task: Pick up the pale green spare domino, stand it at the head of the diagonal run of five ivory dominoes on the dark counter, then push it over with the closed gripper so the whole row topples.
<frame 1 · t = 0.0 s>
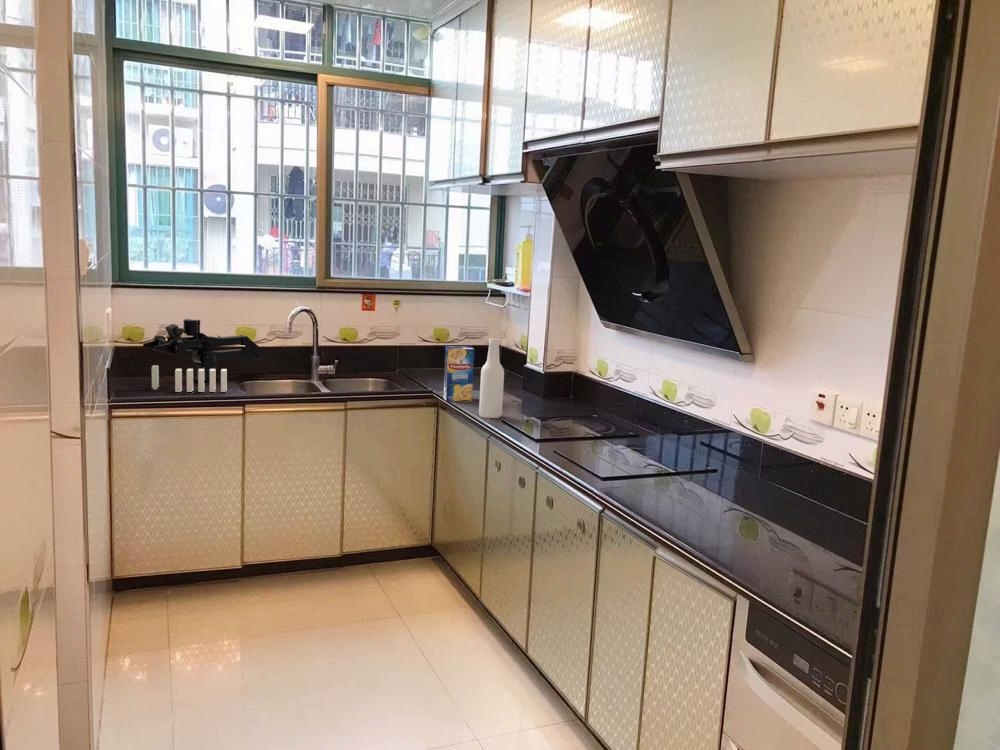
hand: (148, 346, 330), 17 cm above the worktop, tool horizontal, fingers open, 9 cm apart
domino 4: (212, 391, 329), on the worktop
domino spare: (155, 388, 330), on the worktop
domino 1: (178, 391, 326), on the worktop
alcohol: (490, 416, 312), on the worktop
domino 2: (190, 391, 327), on the worktop
blue food box: (457, 399, 341), on the worktop
domino 3: (201, 391, 328), on the worktop
domino 5: (223, 391, 331), on the worktop
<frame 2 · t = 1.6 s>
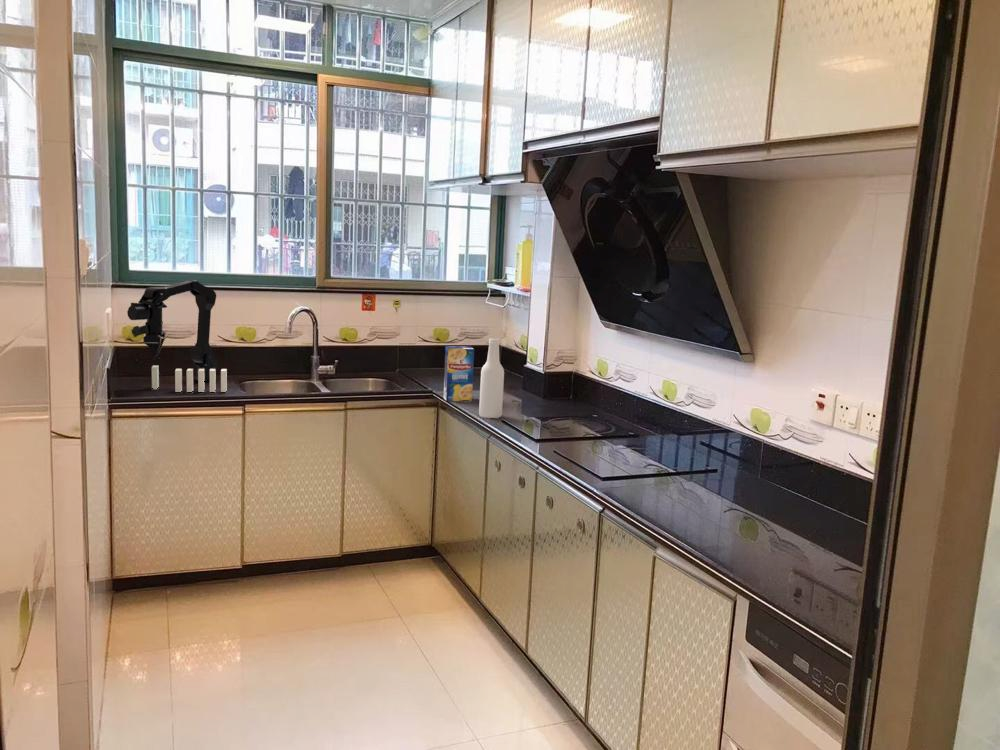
hand: (154, 357, 328), 13 cm above the worktop, tool pointing down, fingers open, 9 cm apart
nothing on the worktop moved.
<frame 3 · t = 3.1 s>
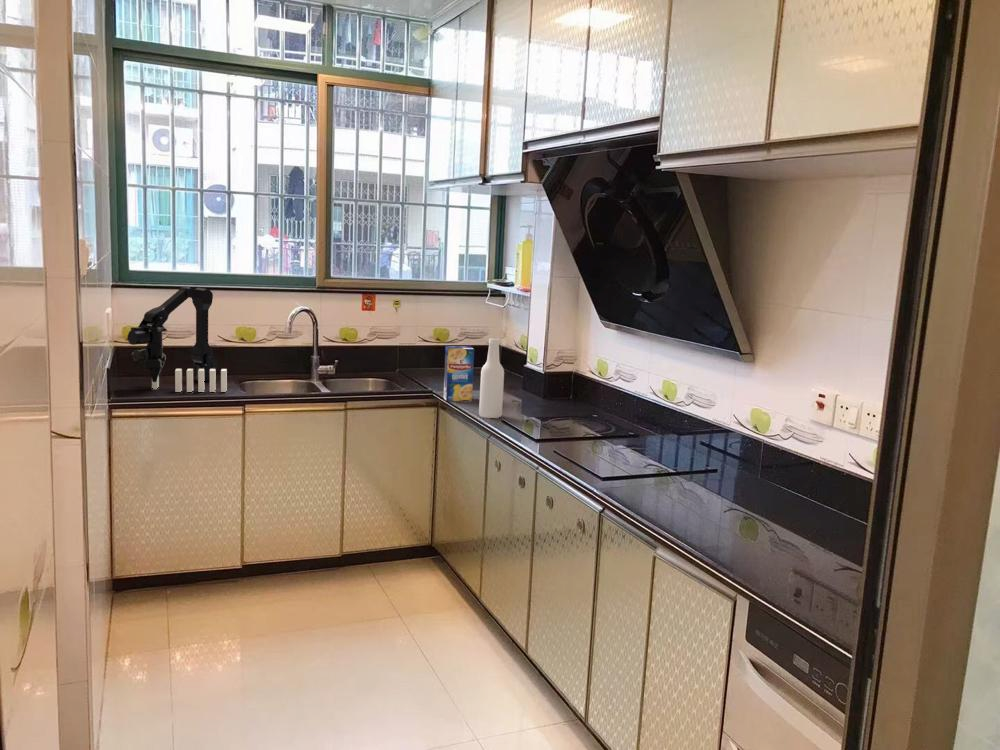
hand: (155, 380, 330), 3 cm above the worktop, tool pointing down, fingers closed on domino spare, 5 cm apart
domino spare: (155, 388, 330), on the worktop, touching gripper
everything else where it was.
when the fingers open (4 cm above the worktop, at t = 6.8 s): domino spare stays where it is, on the worktop.
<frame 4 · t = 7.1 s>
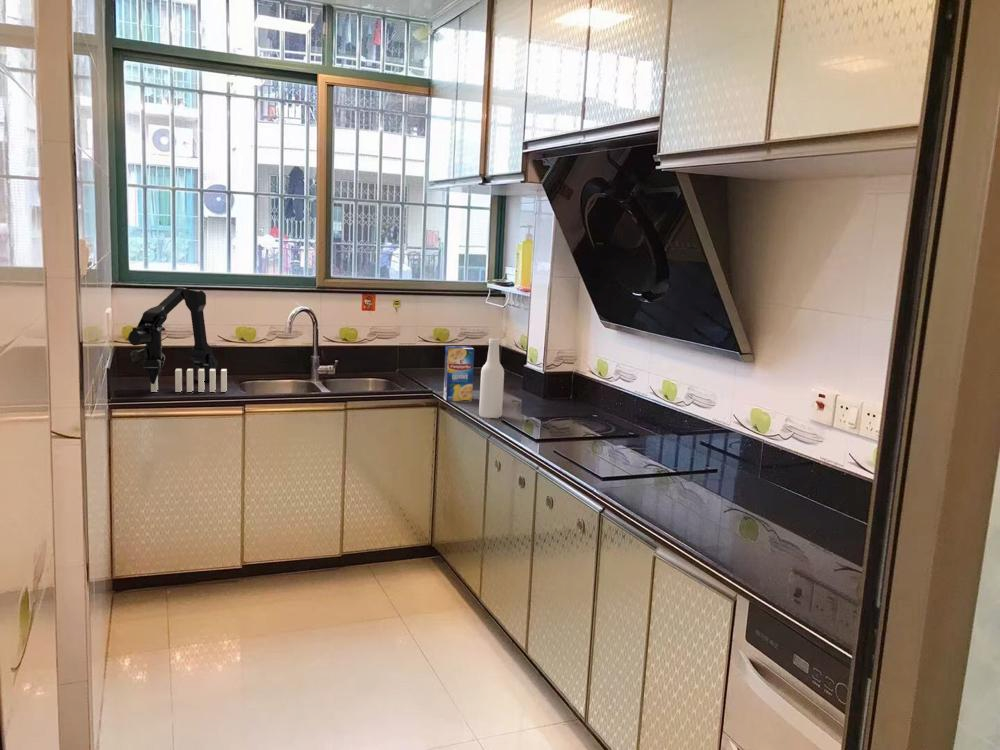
hand: (154, 381, 323), 4 cm above the worktop, tool pointing down, fingers open, 8 cm apart
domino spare: (154, 391, 323), on the worktop
everything else where it was.
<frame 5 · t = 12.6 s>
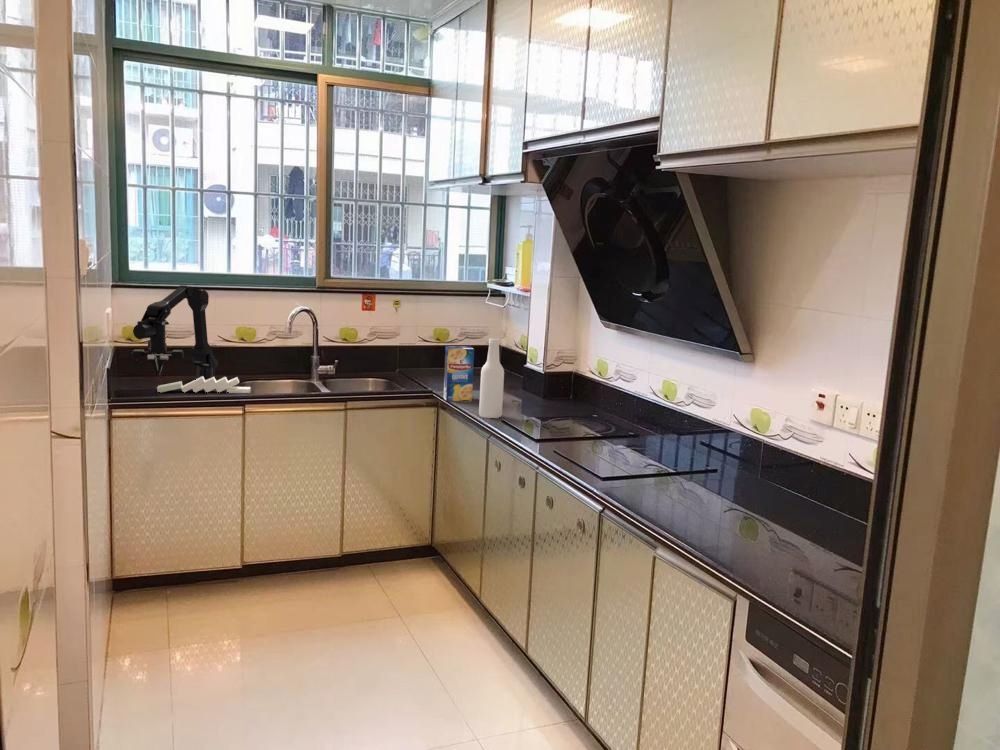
hand: (158, 375, 323), 6 cm above the worktop, tool pointing down, fingers closed
domino 4: (217, 389, 330), point 1 cm above the worktop, tilted 64°
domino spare: (158, 389, 324), point 1 cm above the worktop, tilted 78°, touching domino 1
domino 1: (182, 389, 326), point 1 cm above the worktop, tilted 62°, touching domino 2, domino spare
domino 2: (193, 389, 327), point 1 cm above the worktop, tilted 63°, touching domino 1, domino 3
domino 3: (205, 389, 328), point 1 cm above the worktop, tilted 63°, touching domino 2
domino 5: (227, 390, 331), point 1 cm above the worktop, tilted 90°
everything else where it was.
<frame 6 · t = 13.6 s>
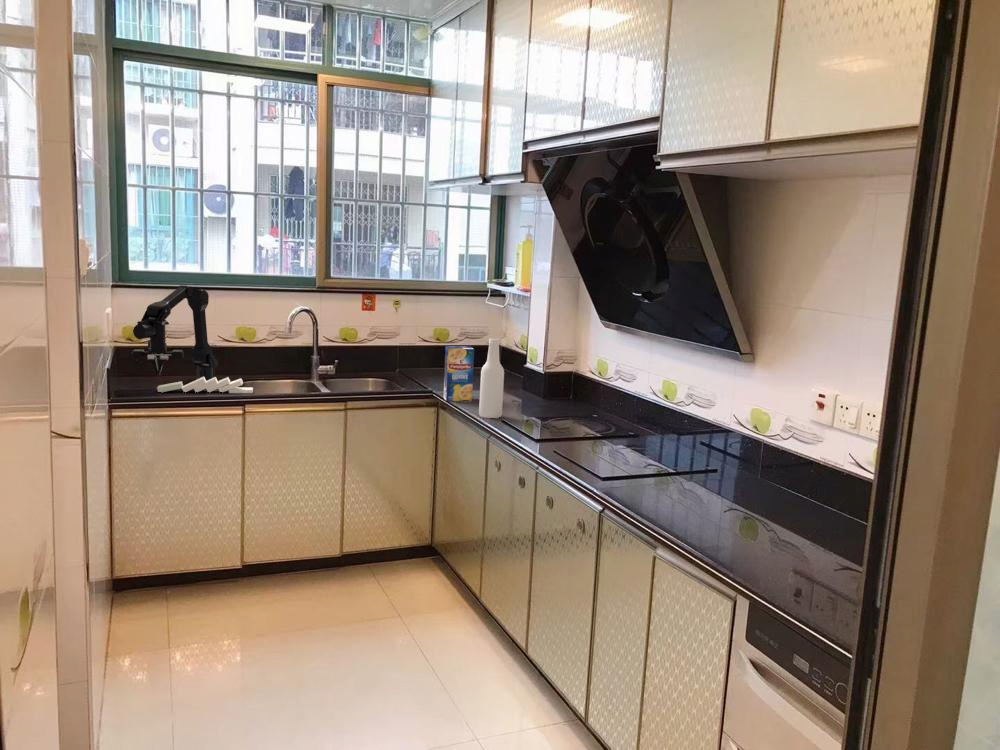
hand: (158, 375, 323), 6 cm above the worktop, tool pointing down, fingers closed
domino 4: (220, 389, 330), point 1 cm above the worktop, tilted 68°, touching domino 3, domino 5
domino 3: (207, 389, 329), point 1 cm above the worktop, tilted 64°, touching domino 2, domino 4
domino 5: (229, 390, 331), on the worktop, tilted 90°, touching domino 4
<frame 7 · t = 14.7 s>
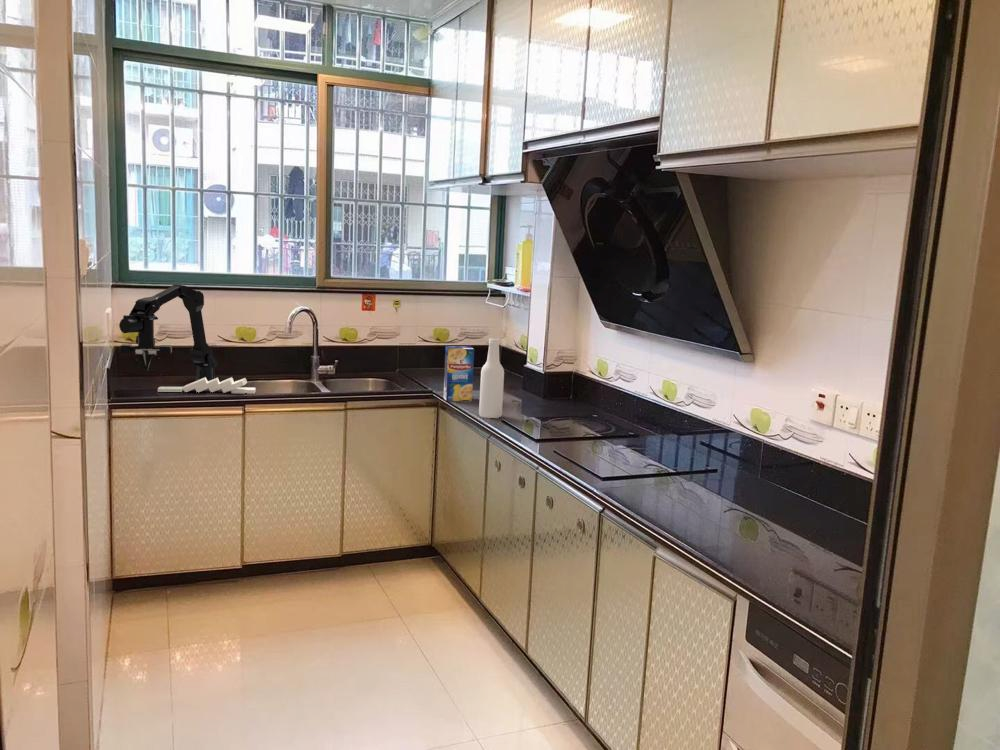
hand: (146, 370, 321), 8 cm above the worktop, tool pointing down, fingers closed
domino 4: (224, 389, 329), point 1 cm above the worktop, tilted 66°, touching domino 3, domino 5
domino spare: (158, 390, 324), point 1 cm above the worktop, tilted 90°
domino 1: (184, 389, 326), point 1 cm above the worktop, tilted 66°, touching domino 2
domino 2: (196, 389, 328), point 1 cm above the worktop, tilted 66°, touching domino 1
domino 3: (211, 389, 329), point 1 cm above the worktop, tilted 65°, touching domino 4
domino 5: (232, 390, 331), on the worktop, tilted 90°, touching domino 4
everything else where it was.
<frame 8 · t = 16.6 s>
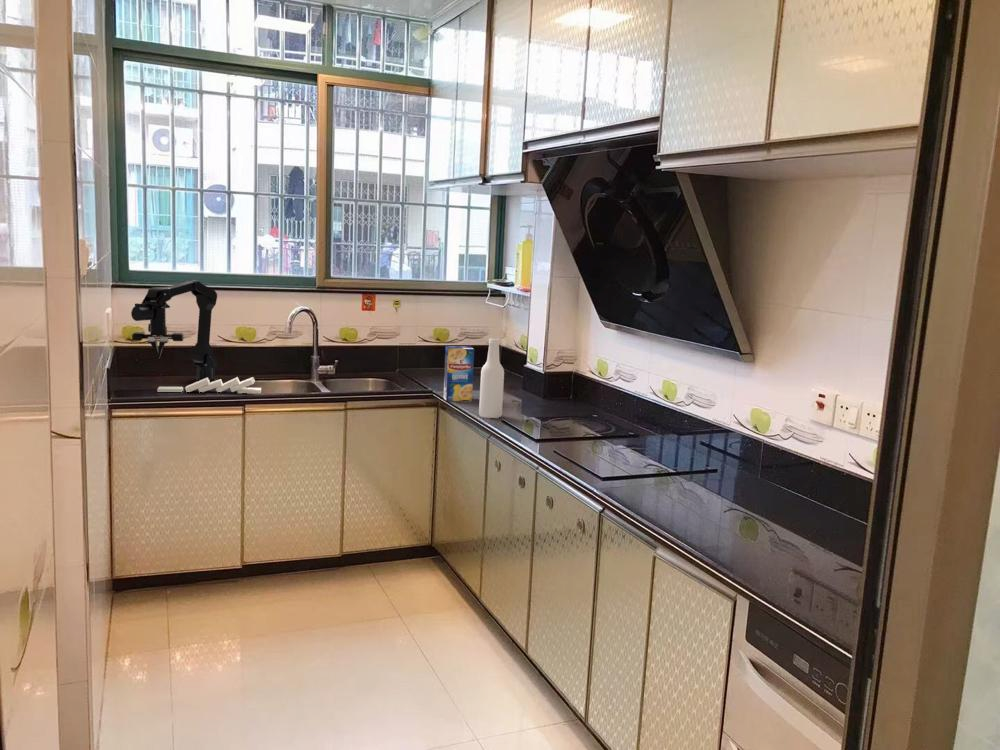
hand: (158, 357, 328), 12 cm above the worktop, tool pointing down, fingers closed
domino 4: (232, 388, 330), point 2 cm above the worktop, tilted 66°, touching domino 3
domino 1: (186, 389, 326), point 1 cm above the worktop, tilted 65°, touching domino 2
domino 2: (199, 389, 328), point 1 cm above the worktop, tilted 70°, touching domino 1, domino 3
domino 3: (217, 389, 329), point 1 cm above the worktop, tilted 63°, touching domino 2, domino 4
domino 5: (238, 391, 331), on the worktop, tilted 90°
everything else where it was.
at the end: domino 5 tilted 90°; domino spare tilted 90°; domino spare inside the target area (1.1 cm from its centre), point 0.5 cm above the worktop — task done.
